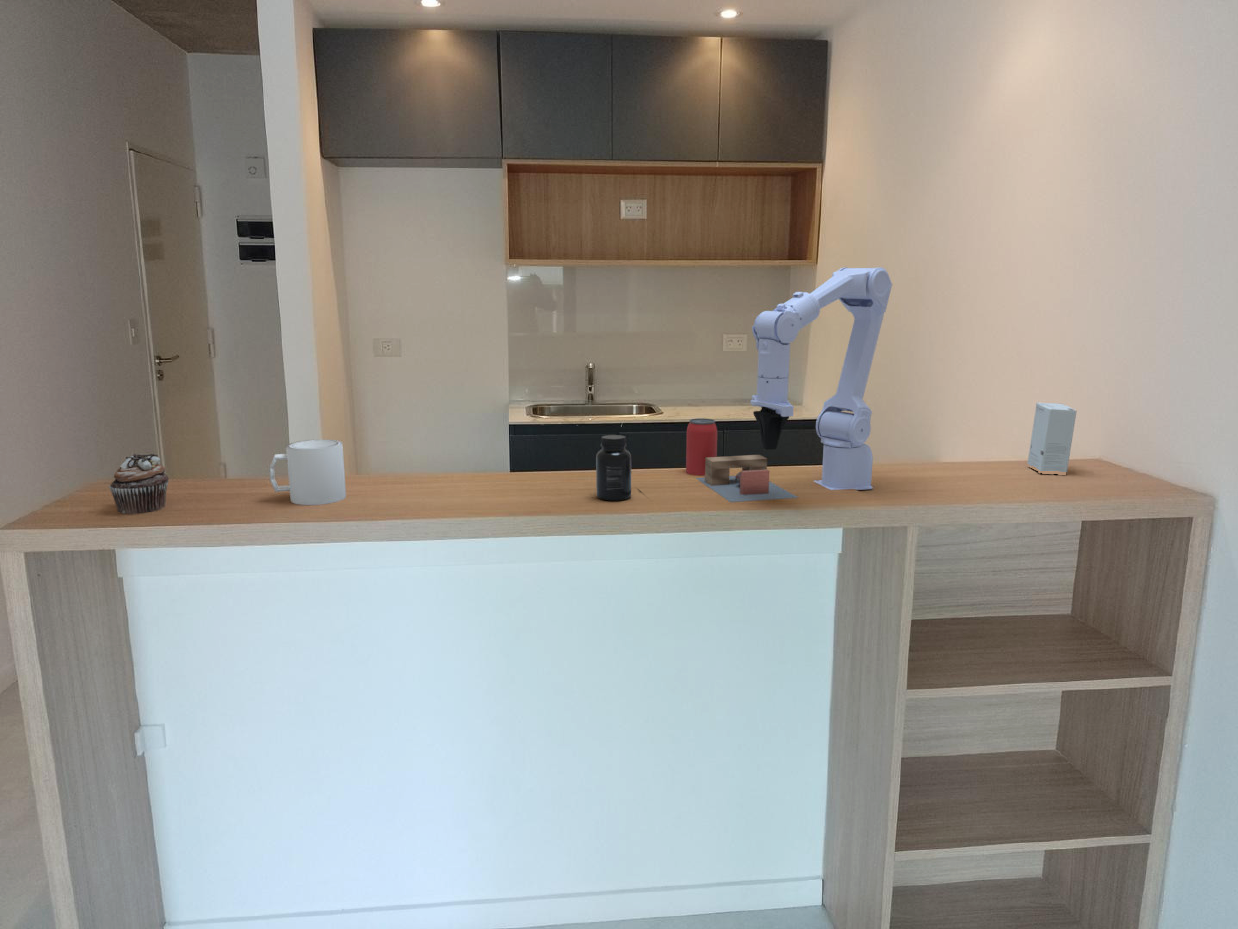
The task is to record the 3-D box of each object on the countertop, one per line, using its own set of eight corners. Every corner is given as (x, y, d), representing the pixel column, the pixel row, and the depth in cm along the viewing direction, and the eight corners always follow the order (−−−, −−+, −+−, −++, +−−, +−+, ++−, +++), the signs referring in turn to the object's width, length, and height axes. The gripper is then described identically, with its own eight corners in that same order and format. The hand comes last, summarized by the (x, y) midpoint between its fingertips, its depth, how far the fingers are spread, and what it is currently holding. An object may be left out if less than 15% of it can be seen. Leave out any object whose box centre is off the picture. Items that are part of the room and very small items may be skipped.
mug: (270, 508, 161) (265, 452, 158) (273, 495, 170) (269, 441, 168) (346, 502, 165) (342, 448, 162) (345, 490, 174) (342, 438, 172)
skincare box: (1026, 467, 196) (1033, 402, 193) (1054, 467, 196) (1061, 402, 193) (1040, 475, 188) (1048, 407, 185) (1069, 476, 188) (1077, 408, 185)
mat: (757, 477, 186) (757, 474, 186) (798, 500, 167) (798, 497, 167) (695, 480, 183) (695, 478, 182) (730, 505, 164) (730, 501, 164)
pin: (768, 493, 170) (769, 470, 169) (741, 494, 169) (742, 472, 168) (754, 484, 177) (754, 463, 176) (728, 486, 176) (729, 464, 175)
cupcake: (121, 503, 164) (115, 451, 162) (177, 500, 166) (171, 449, 164) (104, 516, 155) (97, 462, 153) (163, 513, 157) (157, 459, 155)
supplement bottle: (637, 495, 170) (638, 435, 168) (619, 503, 165) (620, 441, 162) (607, 491, 174) (607, 432, 171) (589, 498, 168) (589, 437, 166)
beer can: (714, 479, 184) (716, 423, 182) (683, 477, 186) (685, 422, 183) (717, 472, 191) (719, 418, 188) (687, 470, 192) (688, 417, 189)
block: (758, 477, 183) (759, 454, 182) (766, 482, 179) (767, 458, 178) (704, 481, 180) (705, 457, 179) (711, 485, 176) (712, 461, 175)
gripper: (738, 372, 166) (735, 442, 169) (768, 381, 152) (765, 457, 155) (772, 372, 168) (769, 441, 171) (805, 380, 154) (801, 455, 157)
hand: (769, 448), depth 163 cm, fingers closed
